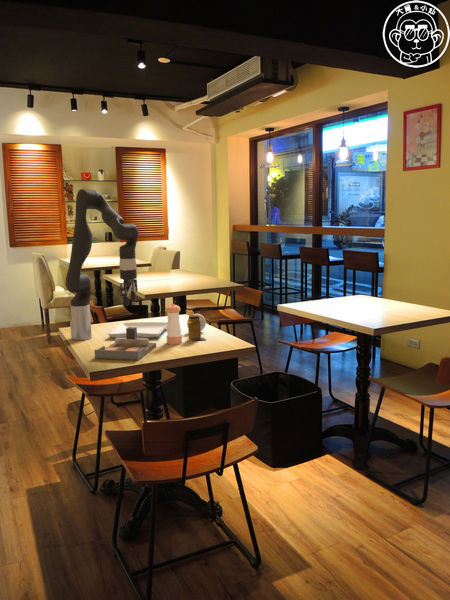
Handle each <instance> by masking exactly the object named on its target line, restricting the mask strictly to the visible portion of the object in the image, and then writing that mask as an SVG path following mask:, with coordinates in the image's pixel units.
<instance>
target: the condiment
mask: <svg viewBox="0 0 450 600" xmlns="http://www.w3.org/2000/svg"><path fill="white" fill-rule="evenodd" d="M188 318H189V321H188V320H187V321H188V326H187V327H188V329H187V330H188V331H187V332H188V337H187V338H186V339H187V340H188V342H197V341H207V339H206V338H205V337H204V336H201V335H202V333H201V332H202V331H201V327H200V319H199V316H198V315H193V314H191V315H189V316H188Z"/></svg>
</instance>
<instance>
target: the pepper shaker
mask: <svg viewBox="0 0 450 600" xmlns="http://www.w3.org/2000/svg"><path fill="white" fill-rule="evenodd" d="M165 312H166V313H167V322H168V324H167V328H166V344H167V345H172V346H173V345H180V344H182V343H183V341H182V339H183V338H182V328H181V325H180V324H181V323H180V312H181V307H180V306H179V305H177V304H174V303H171V304H170V305H168V306H166V308H165Z"/></svg>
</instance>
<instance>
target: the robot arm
mask: <svg viewBox="0 0 450 600" xmlns="http://www.w3.org/2000/svg"><path fill="white" fill-rule="evenodd" d="M87 210H97V211H98V212H100V213H101V215H100V216H101V219H102V222H104V223H105V225H107V227H108V228H110V229H111V231H112V233H113V236H114V237H115V238H116V239H118V240H120V241H125V240H126V242H125V244H124V245H121V246H119V251H118V252H119V264H118V265H119V278H120V280H122V281H123V282H120V283H119V284H120V288H119V289H120V290H119V291H120V297H122V300H123V306H129V303H130V302H131V303H135V302H137V297H136V294H137V292H138V273H137V269H138V268H137V260H136V246H137V242H138V238H139V229H138V227H137V225H135V224H134V223H125V220H124V219H123V217H122V216H121V215H120V214H119V213H117V212H116V211H115V210H114V209H113V208H112V207H111V206H110V204H109V203H108V201H107V200H106V198H105V197H104V196H103V194H101V193H100V192H99V191H98V190H95V189H87V188H82V189H81V188H80V189H79V190H77V194H76V198H75V217H74V228H73V235H72V243H71V252H70V258H69V265H68V269H67V273H66V276H65V287H66V289H67V292H69V293H74V294H75V295H74V297H73V298H72V299H70V311H71V312H70V314H71V315H70V316H71V320H70V321H69V322H70V323H69V325H70V336H71V337H70V338H71V340H75V341H83V340H84V341H85V340H86V341H87V340H89V339H91V338H93V336H92V321H91V306H90V303H91V302H90V301H91V298H92V296H91V295H92V294H91V289H92V288H91V287H92V286H91V279H90V276H88V274H87V273H85V272H81V271H82V267H83V265H84V264H85V261H86V260H87V258H88V256H89V254H90V253H91V251H92V246H93V245H92V244H93V233H92V231H91V228H90V225H89V224H88V221H87ZM129 294H130V295H129ZM129 296H130V302H129Z"/></svg>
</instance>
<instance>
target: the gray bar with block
mask: <svg viewBox="0 0 450 600" xmlns="http://www.w3.org/2000/svg"><path fill="white" fill-rule="evenodd" d="M126 337H127V338H114V343H115V345H135V346H148V345H149V343H150V338H137V327H128V328H126Z"/></svg>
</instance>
